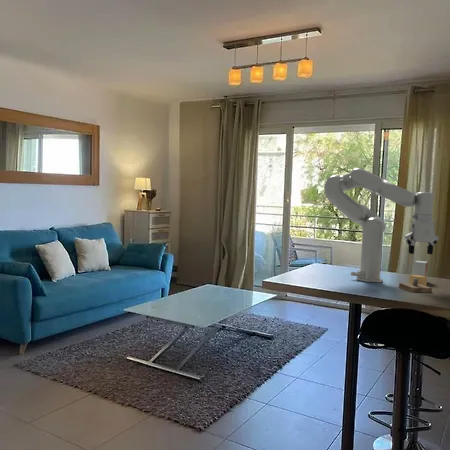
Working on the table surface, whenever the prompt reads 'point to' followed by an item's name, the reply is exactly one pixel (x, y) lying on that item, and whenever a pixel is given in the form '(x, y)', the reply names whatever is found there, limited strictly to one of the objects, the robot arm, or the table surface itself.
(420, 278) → the cap
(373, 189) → the robot arm
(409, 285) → the post plinth
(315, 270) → the table surface
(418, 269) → the small box
